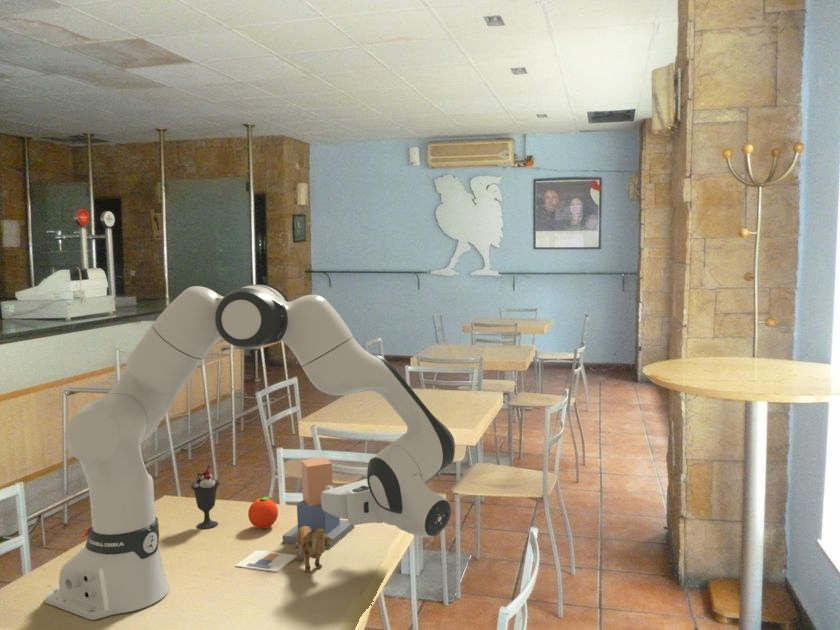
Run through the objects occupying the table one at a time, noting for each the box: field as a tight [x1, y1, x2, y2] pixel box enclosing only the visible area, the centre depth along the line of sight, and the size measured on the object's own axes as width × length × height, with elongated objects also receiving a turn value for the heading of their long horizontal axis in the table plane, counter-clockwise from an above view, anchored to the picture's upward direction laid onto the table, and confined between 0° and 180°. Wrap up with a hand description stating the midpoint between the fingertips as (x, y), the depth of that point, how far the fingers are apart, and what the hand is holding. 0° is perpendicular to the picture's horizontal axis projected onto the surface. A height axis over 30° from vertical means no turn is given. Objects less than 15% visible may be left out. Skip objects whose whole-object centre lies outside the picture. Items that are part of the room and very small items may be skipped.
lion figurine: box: [294, 526, 333, 573], centre depth 147 cm, size 15×5×9 cm, turn 33°
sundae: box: [190, 464, 221, 530], centre depth 170 cm, size 7×7×15 cm
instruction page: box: [235, 549, 297, 573], centre depth 149 cm, size 10×8×1 cm
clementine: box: [247, 496, 279, 529], centre depth 168 cm, size 8×7×7 cm
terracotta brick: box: [300, 456, 333, 506], centre depth 162 cm, size 6×6×9 cm
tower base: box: [282, 499, 355, 548], centre depth 162 cm, size 12×12×8 cm
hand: (346, 483), depth 153 cm, fingers open, 8 cm apart
